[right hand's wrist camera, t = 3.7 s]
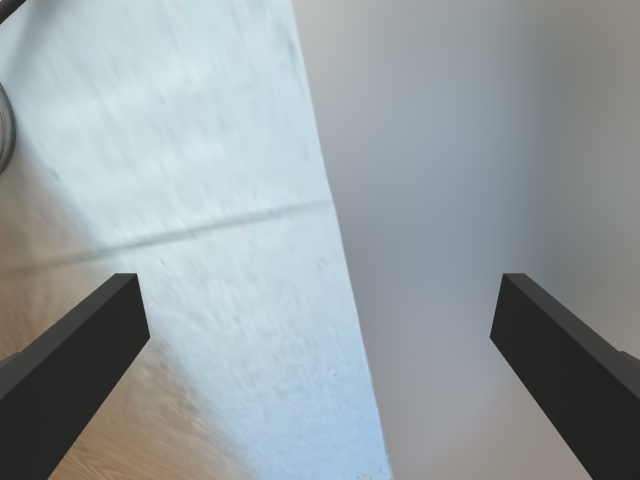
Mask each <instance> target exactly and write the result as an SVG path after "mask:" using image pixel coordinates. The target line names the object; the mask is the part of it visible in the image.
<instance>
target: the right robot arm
mask: <svg viewBox="0 0 640 480" xmlns="http://www.w3.org/2000/svg"><path fill="white" fill-rule="evenodd" d="M25 1H26V0H1V1H0V24H1V23H2V22H3V21H4V20H6V19H7V18H8V17H9V16H10V15H11V14H12V13H13V12H14V11H15V10H16V9H17V8H19V7H20V6H21V5H22V4H23V3H24V2H25ZM14 145H15V121H14V116H13V111H12V108H11V105H10V102H9V100H8V97H7V95H6V93H5V91H4V89H3V87H2V85H1V83H0V172H1V171H2V170H3V169H4V168H5V167H6V165H7V164H8V162H9V160H10V158H11V156H12V153H13V149H14ZM149 339H150V334H149V329H148V324H147V320H146V315H145V310H144V305H143V301H142V296H141V291H140V286H139V282H138V277H137V273H115V274H114V275H113V276H112V277H111V278H109V279H108V280H107V281H106V282H105V283H103V284H102V285H101V286H100V287H99V288H97V289H96V290H95V291H94V292H92V293H91V294H90V295H89V296H88V297H86V298H85V299H84V300H83V301H82V302H80V303H79V304H78V305H77V306H76V307H74V308H73V309H72V310H71V311H70V312H68V313H67V314H66V315H65V316H64V317H62V318H61V319H60V320H59V321H58V322H56V323H55V324H54V325H53V326H51V327H50V328H49V329H48V330H47V331H45V332H44V333H43V334H42V335H41V336H39V337H38V338H37V339H36V340H35V341H33V342H32V343H31V344H30V345H29V346H27V347H26V348H25V349H24V350H23V351H21V352H20V353H15V354H13V355H11V356H10V357H8V358H6V359H4V360H2V361H0V480H47V479H48V478H49V476H50V475H51V473H52V472H53V471H54V469H55V468H56V467H57V465H58V464H59V462H60V461H61V460H62V458H63V457H64V456H65V454H66V453H67V451H68V450H69V449H70V447H71V446H72V445H73V443H74V442H75V440H76V439H77V438H78V436H79V435H80V434H81V432H82V431H83V429H84V428H85V427H86V425H87V424H88V423H89V421H90V420H91V418H92V417H93V416H94V414H95V413H96V412H97V410H98V409H99V407H100V406H101V405H102V403H103V402H104V401H105V399H106V398H107V396H108V395H109V394H110V392H111V391H112V389H113V388H114V387H115V385H116V384H117V383H118V381H119V380H120V378H121V377H122V376H123V374H124V373H125V372H126V370H127V369H128V367H129V366H130V365H131V363H132V362H133V361H134V359H135V358H136V356H137V355H138V354H139V352H140V351H141V350H142V348H143V347H144V345H145V344H146V343H147V341H148V340H149ZM490 339H491V340H492V341H493V343H494V344H495V345H496V347H497V348H498V350H499V351H500V352H501V354H502V355H503V356H504V358H505V359H506V361H507V362H508V363H509V365H510V366H511V367H512V369H513V370H514V372H515V373H516V374H517V376H518V377H519V378H520V380H521V381H522V383H523V384H524V385H525V387H526V388H527V389H528V391H529V392H530V394H531V395H532V396H533V398H534V399H535V400H536V402H537V403H538V405H539V406H540V407H541V409H542V410H543V411H544V413H545V414H546V416H547V417H548V418H549V420H550V421H551V422H552V424H553V425H554V427H555V428H556V429H557V431H558V432H559V434H560V435H561V436H562V438H563V439H564V440H565V442H566V443H567V445H568V446H569V447H570V449H571V450H572V451H573V453H574V454H575V456H576V457H577V458H578V460H579V461H580V462H581V464H582V465H583V467H584V468H585V469H586V471H587V472H588V473H589V475H590V476H591V478H592V479H593V480H640V360H639V359H637V358H635V357H633V356H631V355H630V354H628V353H626V352H624V351H617V350H616V349H615V348H614V347H613V346H611V345H610V344H609V343H608V342H607V341H605V340H604V339H603V338H602V337H601V336H599V335H598V334H597V333H596V332H594V331H593V330H592V329H591V328H590V327H589V326H587V325H586V324H585V323H584V322H582V321H581V320H580V319H579V318H578V317H576V316H575V315H574V314H573V313H572V312H570V311H569V310H568V309H567V308H566V307H564V306H563V305H562V304H561V303H560V302H558V301H557V300H556V299H555V298H553V297H552V296H551V295H550V294H549V293H548V292H546V291H545V290H544V289H543V288H541V287H540V286H539V285H538V284H537V283H535V282H534V281H533V280H532V279H531V278H529V277H528V276H527V275H526V274H524V273H504V274H503V277H502V282H501V286H500V291H499V296H498V301H497V305H496V310H495V315H494V320H493V324H492V329H491V334H490Z"/></svg>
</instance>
